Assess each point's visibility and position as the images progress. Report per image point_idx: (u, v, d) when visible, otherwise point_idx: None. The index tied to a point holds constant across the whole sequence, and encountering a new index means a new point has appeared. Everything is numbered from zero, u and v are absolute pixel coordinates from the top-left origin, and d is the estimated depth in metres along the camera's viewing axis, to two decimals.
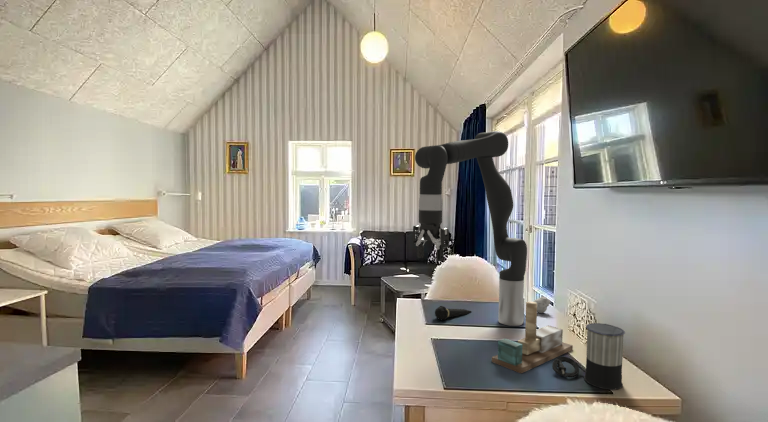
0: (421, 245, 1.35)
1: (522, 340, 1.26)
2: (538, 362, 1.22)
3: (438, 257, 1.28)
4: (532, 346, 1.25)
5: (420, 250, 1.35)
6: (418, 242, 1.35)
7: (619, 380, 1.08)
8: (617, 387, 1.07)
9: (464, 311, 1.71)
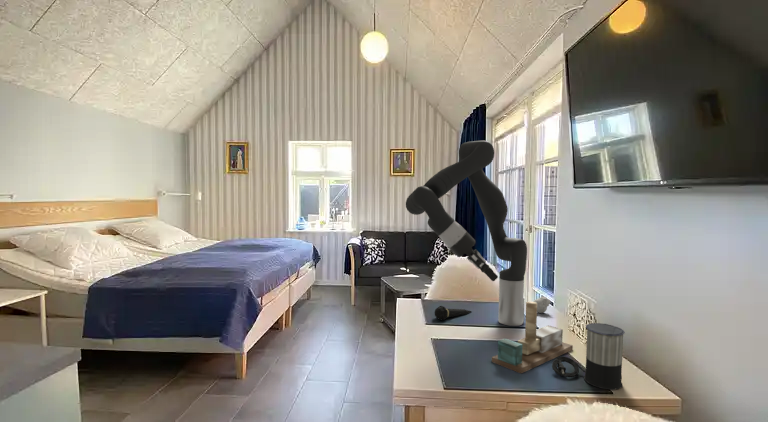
0: (482, 264, 1.32)
1: (522, 340, 1.26)
2: (538, 362, 1.22)
3: (490, 278, 1.23)
4: (532, 346, 1.25)
5: None
6: None
7: (619, 379, 1.08)
8: (617, 387, 1.07)
9: (464, 311, 1.71)
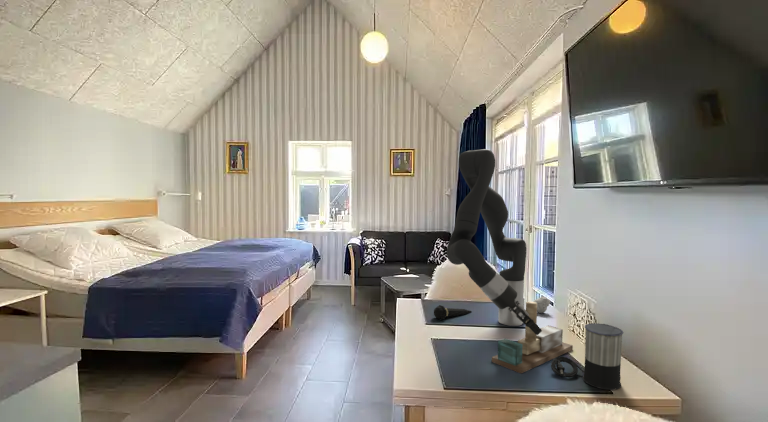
0: None
1: (522, 340, 1.26)
2: (538, 362, 1.22)
3: (534, 332, 1.25)
4: (532, 346, 1.25)
5: None
6: None
7: (618, 380, 1.08)
8: (615, 387, 1.07)
9: (464, 311, 1.71)
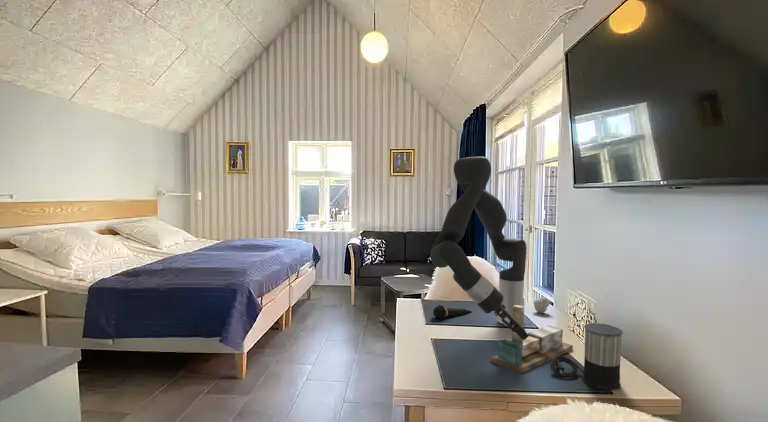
0: None
1: None
2: (538, 362, 1.22)
3: (521, 337, 1.21)
4: None
5: None
6: None
7: (617, 380, 1.08)
8: (615, 387, 1.07)
9: (464, 311, 1.72)
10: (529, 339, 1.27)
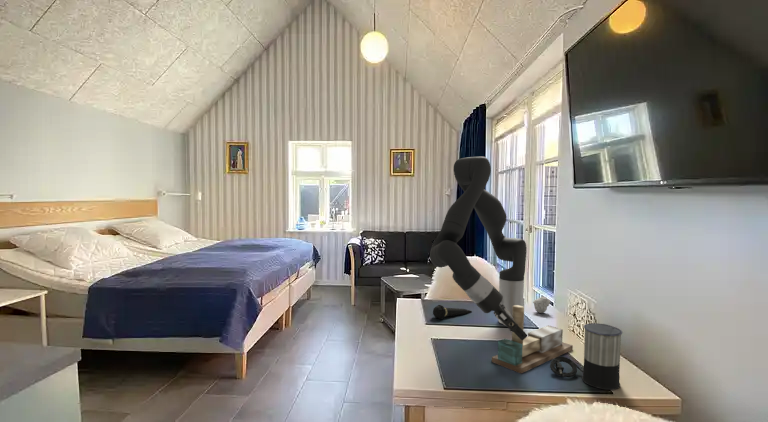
0: None
1: None
2: (538, 362, 1.22)
3: (519, 337, 1.18)
4: None
5: (511, 323, 1.27)
6: None
7: (617, 380, 1.08)
8: (614, 387, 1.07)
9: (463, 311, 1.72)
10: (529, 339, 1.27)
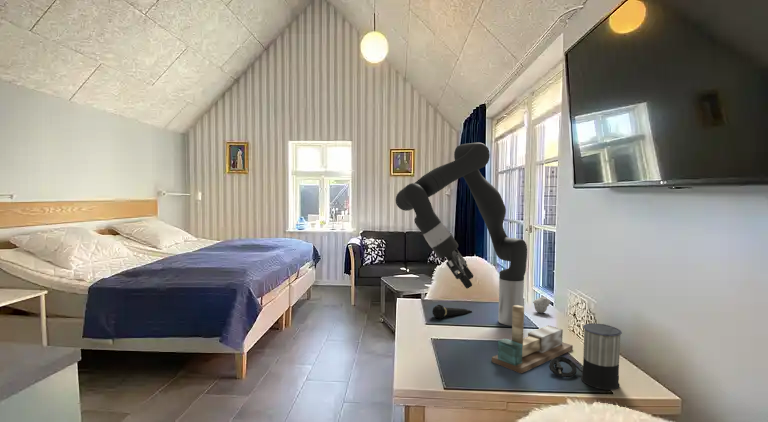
0: (464, 268, 1.33)
1: None
2: (538, 362, 1.22)
3: (464, 285, 1.25)
4: None
5: (465, 273, 1.33)
6: None
7: (616, 380, 1.08)
8: (614, 387, 1.07)
9: (463, 311, 1.72)
10: (529, 339, 1.27)
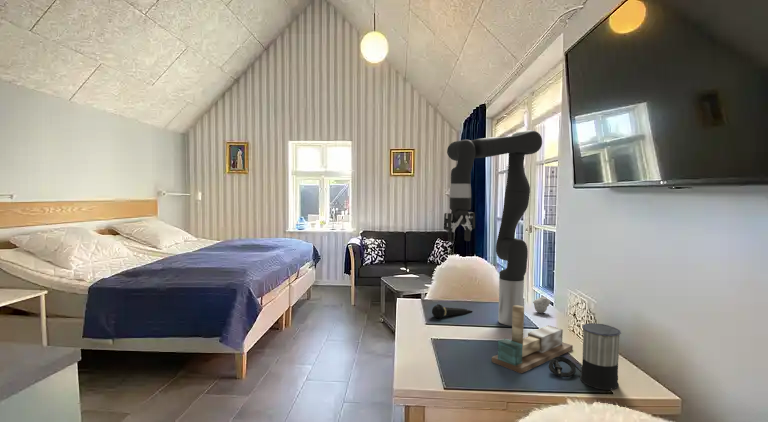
0: (467, 229, 1.51)
1: None
2: (538, 362, 1.22)
3: None
4: None
5: (465, 234, 1.51)
6: None
7: (615, 380, 1.07)
8: (613, 387, 1.07)
9: (463, 310, 1.72)
10: (529, 339, 1.27)
